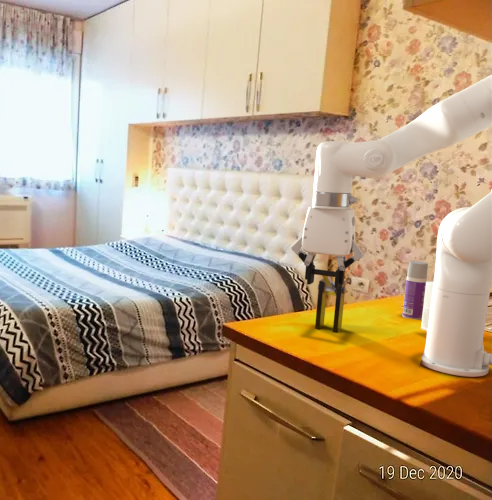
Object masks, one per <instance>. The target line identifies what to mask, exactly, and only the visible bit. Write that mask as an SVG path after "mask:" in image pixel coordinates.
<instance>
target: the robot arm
mask: <svg viewBox="0 0 492 500" xmlns="http://www.w3.org/2000/svg"><path fill="white" fill-rule="evenodd" d="M491 127H492V74H490V75H488V76H486V77H484V78H482V79H481V80H478V81H477V82H475V83H473V84H471V85H470V86H468V87H466V88H464V89H461V90H460V91H458V92H456V93H454V94H452V95H450V96H448V97H446V98H444V99H442V100H440V101H438V102H437V103H435V104H434V105H432V106H431V107H429V108H427V110H425V111H424V112H422V114H421V115H419V116H418V117H416V118H415V119H414V120H411V121H410V122H409V123H407V124H405V125H403V126H402V127H399V128H397V129H396V130H394V131H392V132H390V133H389V134H387V135H385V136H383V137H381V138H379V139H376V140H375V139H374V140H373V139H372V140H365V141H357V142H356V141H355V142H349V141H339V140H337V141H335V140H334V141H333V140H331V141H329V140H328V141H322V142H320V143H319V144H318V146H317V147H316V156H315V168H314V177H313V178H314V181H313V190H312V191H313V192H312V201H311V206H308V209H307V212H306V216H305V221H304V224H303V230H302V236H301V238H300V239H298V240H297V241H296V243H294V244H293V245H292V247H291V250H292V252H293V253H294V254H296V255H297V256H298V258H299V259H300V261H302V262H303V264H304V266H305V270H304V271H305V272H304V273H305V274H304V280H306V284H307V285H310V286H311V285H312V284H313V283H314V281H315V274H312V271H313V269H316V265H315V263H314V261H315V260H316V259H315V258H316V256H317V255H325V256H332V257H336V262H337V269H336V270H335V272H336V273H335V277H334V282H335V284H334V288H336V289H338V288H339V287H340V286H341V285H343V283H344V281H345V273H346V269H347V268H349V267H350V266H351V265H353V264H354V263H356V262H357V261H359V260H361V259H363V258H364V256H365V254H364V252H363V251H362V250H361V248H360V247H359V246H358V244H357V242H356V239H355V237H356V216H355V215H356V214H355V209H354V208H351V206H352V205H357V204H358V203H359V197H358V196H354V195H353V194H352V189H353V179H354V177H361V178H367V179H373V180H376V179H381V178H383V177H386V176H387V175H390V174H391V173H393V172H395V171H397V170H399V169H401V168H403V167H406V166H407V165H409V164H411V163H413V162H415V161H418V160H419V159H422V158H424V157H425V156H427V155H430V154H433V153H435V152H437V151H440V150H443V149H447V148H449V147H452V146H453V145H457V144H458V143H460V142H462V141H464V140H466V139H468V138H470V137H473V136H474V135H476V134H478V133H481V132H482V131H484V130H487V129H488V128H491ZM437 231H438V232H437V237H436V254H435V267H434V274H433V281H434V283H433V289H432V297H431V305H430V313H429V321H428V329H427V331H426V338H425V345H424V349H423V352H422V355H421V359H420V362H419V364H420V365H421V366H423V367H425V368H428V369H430V370H433V371H436V372H439V373H444V374H447V375H451V376H452V375H453V376H457V377H458V376H459V377H467V378H468V377H469V378H478V377H483V376H486V375H487V374H489V371H490V370H489V369H490V366H492V353H489V352H488V351H486V350H485V345H484V336H485V330H486V329H485V328H486V323H487V316H488V309H489V302H490V294H491V290H492V189H491V191H490V192H489V193H487V194H486V195H485V196H483V197H482V198H481V199H480V200H478V201H477V202H476V203H474V204H473V205H472V206H464V207H459V208H456V209H453V210H452V211H451V212H449V213H448V214H447V215H445V217H444V218H443V219H442V220H441V222H440V224H439V227H438V230H437ZM352 253H353V255H352V256H351V257H349V258H346V256H349V255H350V254H352Z"/></svg>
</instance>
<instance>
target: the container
mask: <svg viewBox="0 0 492 500" xmlns="http://www.w3.org/2000/svg"><path fill="white" fill-rule="evenodd" d="M428 267H429V263H428V262H426V261H420V260H409V261H408V266H407V273H406V279H405V289H404V298H403V305H402V306H403V308H402V315H401V316H402V317H403V318H404V319H410V320H416V321H422V314H423V305H424V296H425V287H426V282H427V281H428V280H427V279H428Z"/></svg>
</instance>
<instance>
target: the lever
mask: <svg viewBox="0 0 492 500" xmlns="http://www.w3.org/2000/svg"><path fill="white" fill-rule="evenodd" d="M335 273H336V270H335V271H334V270H326V269H318V268H315V269H313V271H312V274H314V276H316V275H317V276H321V277H322V279H323V278H324V280H325V283H326V289H325V291H326V293H327V295H328V296H332V297H333V296H334V297H336V292H337V289H336V288H334V284H335V281H333V280H332V278H335ZM327 295H326V296H327Z"/></svg>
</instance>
